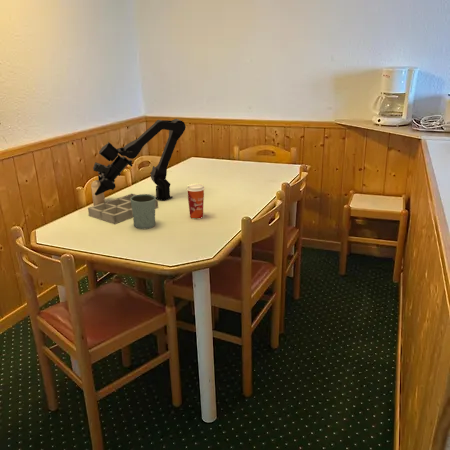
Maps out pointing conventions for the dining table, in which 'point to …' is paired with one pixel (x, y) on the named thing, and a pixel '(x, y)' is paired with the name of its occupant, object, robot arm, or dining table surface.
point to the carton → (114, 209)
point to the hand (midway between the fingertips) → (94, 193)
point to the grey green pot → (143, 210)
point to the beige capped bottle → (98, 198)
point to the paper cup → (195, 200)
